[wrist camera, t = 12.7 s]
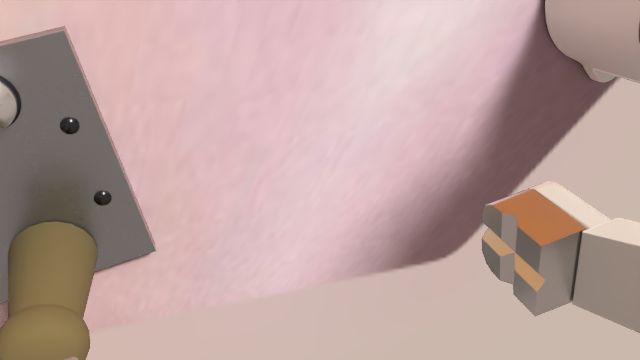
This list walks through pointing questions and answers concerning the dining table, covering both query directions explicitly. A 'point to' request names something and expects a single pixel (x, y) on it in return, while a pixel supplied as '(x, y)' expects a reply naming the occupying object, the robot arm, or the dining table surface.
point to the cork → (48, 293)
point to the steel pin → (7, 105)
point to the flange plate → (62, 155)
